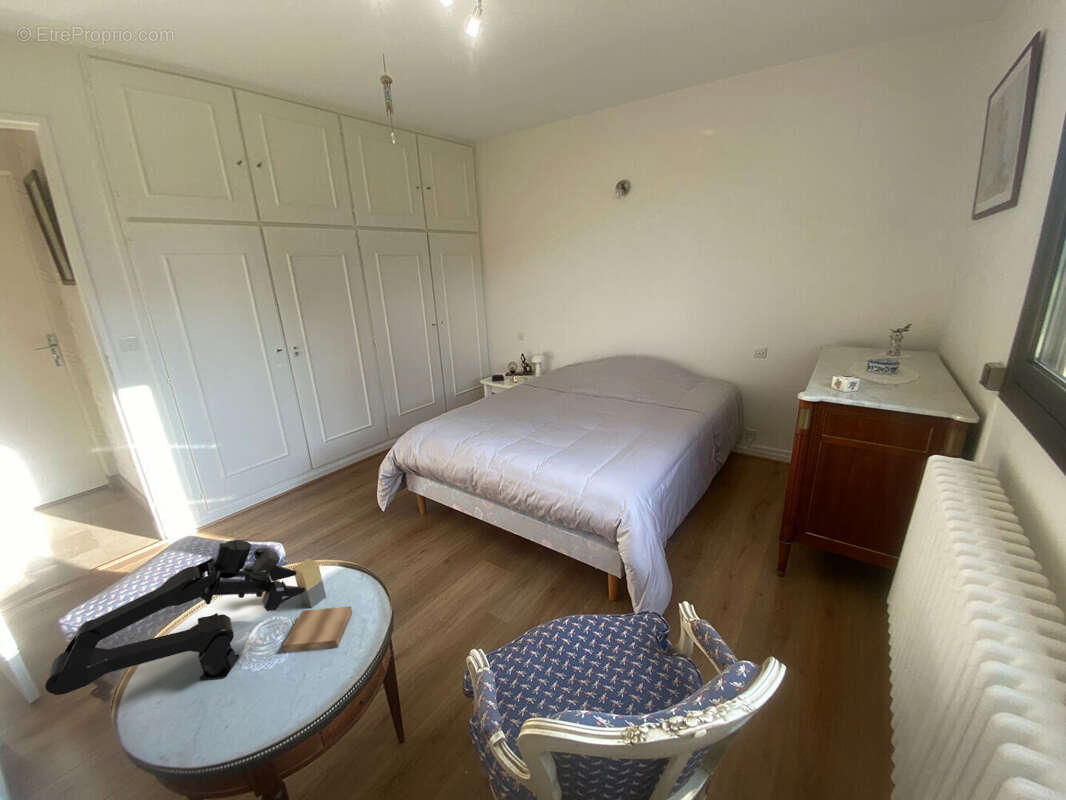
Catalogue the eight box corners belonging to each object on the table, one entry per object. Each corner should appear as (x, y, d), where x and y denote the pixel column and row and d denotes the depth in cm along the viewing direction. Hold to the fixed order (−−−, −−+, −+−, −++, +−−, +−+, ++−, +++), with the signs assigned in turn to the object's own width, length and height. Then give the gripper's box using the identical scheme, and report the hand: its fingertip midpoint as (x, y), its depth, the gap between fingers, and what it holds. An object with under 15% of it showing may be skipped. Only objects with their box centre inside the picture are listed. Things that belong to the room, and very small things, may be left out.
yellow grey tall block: (311, 608, 130) (302, 573, 126) (301, 602, 132) (292, 567, 128) (326, 597, 134) (318, 562, 130) (316, 591, 137) (308, 558, 132)
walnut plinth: (285, 652, 115) (283, 645, 114) (304, 617, 127) (302, 610, 126) (338, 647, 116) (336, 640, 115) (352, 612, 127) (350, 606, 127)
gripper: (255, 570, 103) (320, 570, 114) (242, 537, 117) (301, 539, 128) (238, 614, 103) (305, 610, 114) (227, 575, 116) (288, 575, 127)
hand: (300, 581), depth 121 cm, fingers open, 9 cm apart
